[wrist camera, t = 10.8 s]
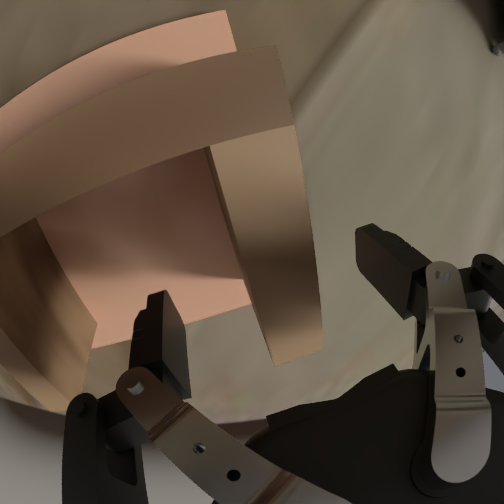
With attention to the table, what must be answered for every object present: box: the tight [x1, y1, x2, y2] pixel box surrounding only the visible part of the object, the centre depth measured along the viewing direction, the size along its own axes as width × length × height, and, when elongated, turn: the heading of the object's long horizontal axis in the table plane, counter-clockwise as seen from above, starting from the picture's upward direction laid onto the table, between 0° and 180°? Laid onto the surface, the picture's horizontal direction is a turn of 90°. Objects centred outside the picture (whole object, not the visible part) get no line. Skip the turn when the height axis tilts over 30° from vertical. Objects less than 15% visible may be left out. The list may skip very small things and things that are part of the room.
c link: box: [0, 45, 324, 412], centre depth 10 cm, size 10×13×6 cm
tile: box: [0, 10, 252, 349], centre depth 12 cm, size 15×14×1 cm
